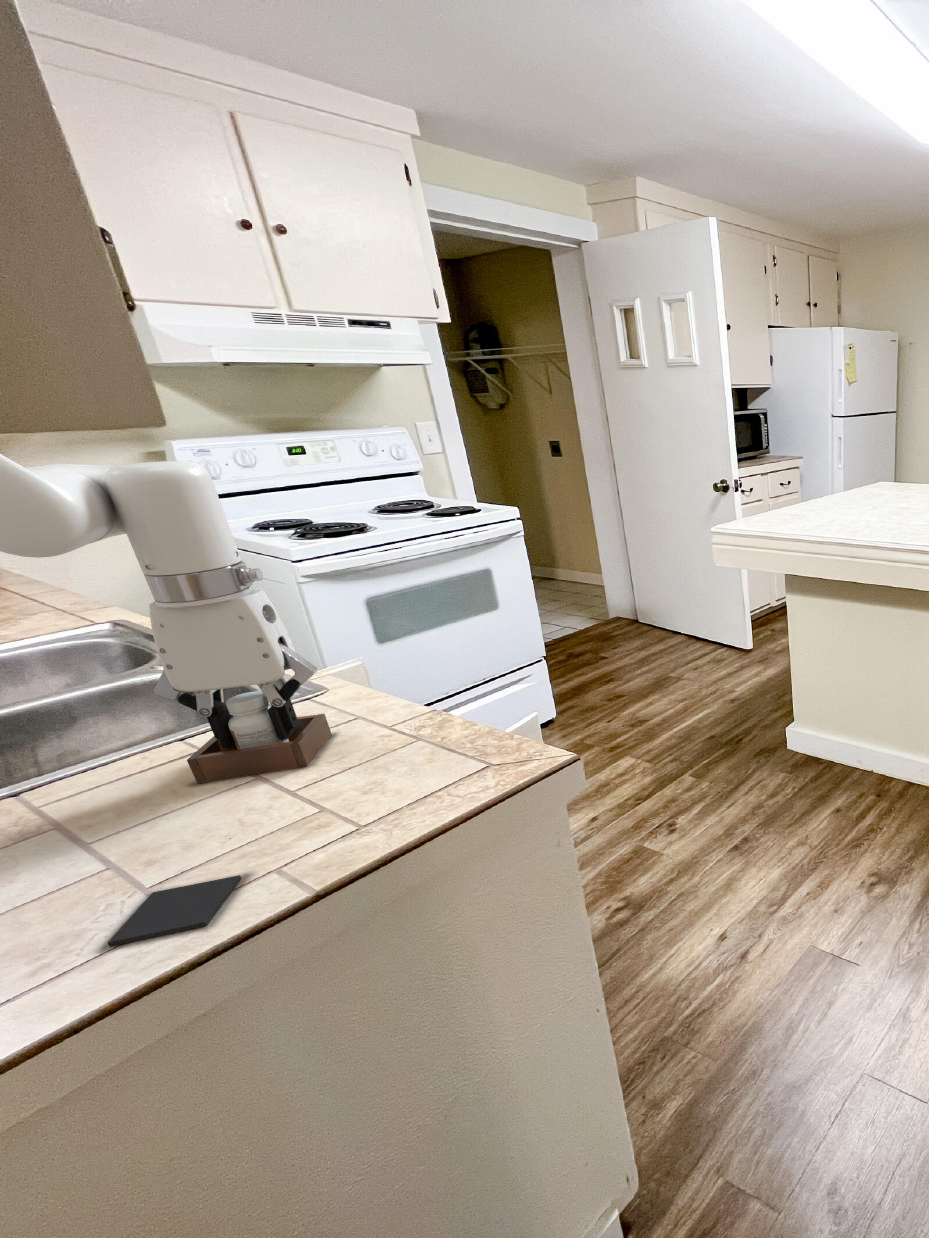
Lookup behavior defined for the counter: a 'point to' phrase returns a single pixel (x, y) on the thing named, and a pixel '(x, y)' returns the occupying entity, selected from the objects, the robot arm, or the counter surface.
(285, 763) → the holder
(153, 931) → the coaster
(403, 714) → the counter surface
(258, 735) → the pill bottle
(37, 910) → the counter surface
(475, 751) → the counter surface
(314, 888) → the counter surface
